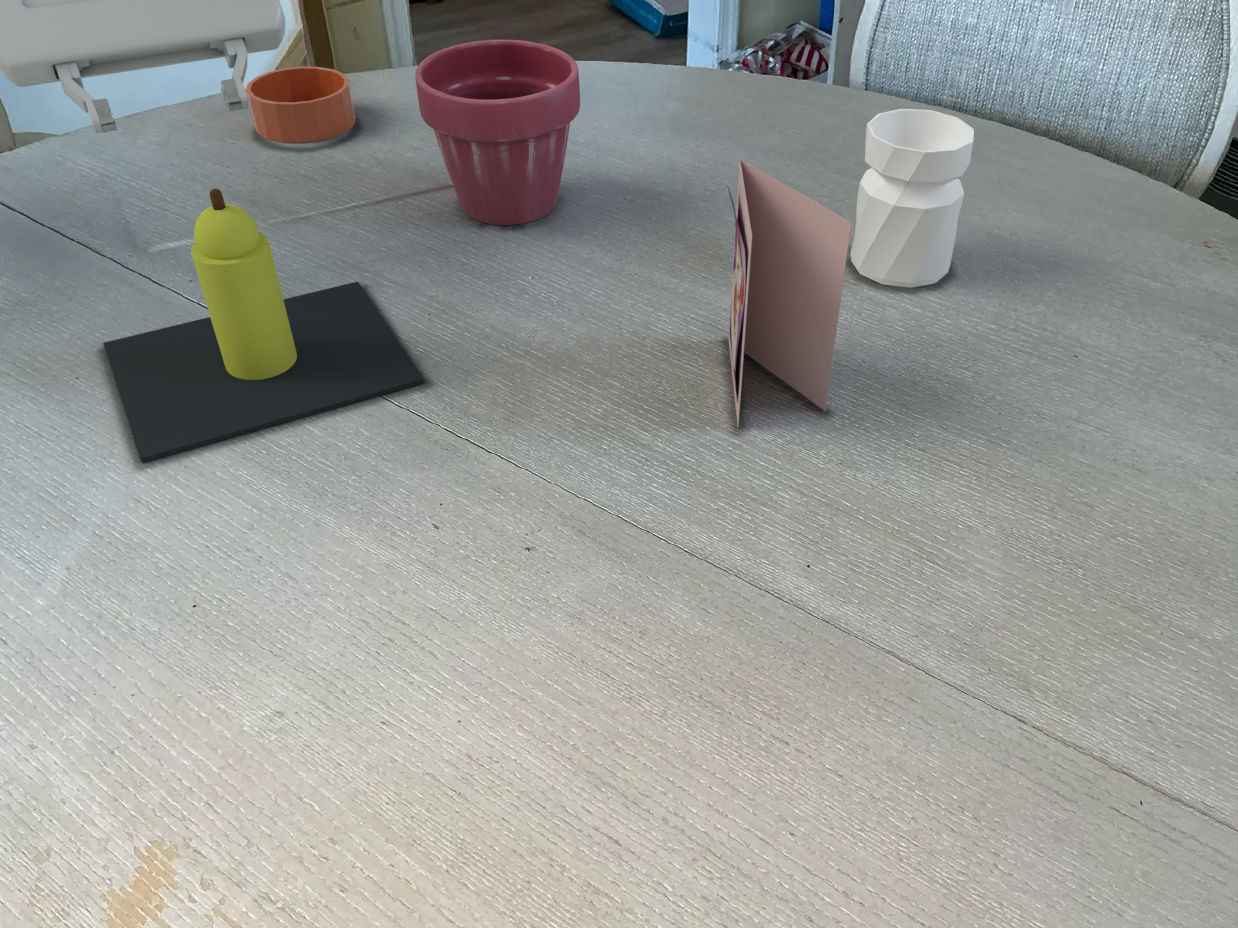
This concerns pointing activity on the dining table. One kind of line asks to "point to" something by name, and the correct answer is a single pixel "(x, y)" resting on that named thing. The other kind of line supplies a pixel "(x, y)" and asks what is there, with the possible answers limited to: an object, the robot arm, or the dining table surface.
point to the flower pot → (501, 124)
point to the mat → (228, 406)
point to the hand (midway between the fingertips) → (173, 117)
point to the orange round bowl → (301, 104)
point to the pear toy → (242, 292)
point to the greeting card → (785, 284)
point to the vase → (910, 196)
